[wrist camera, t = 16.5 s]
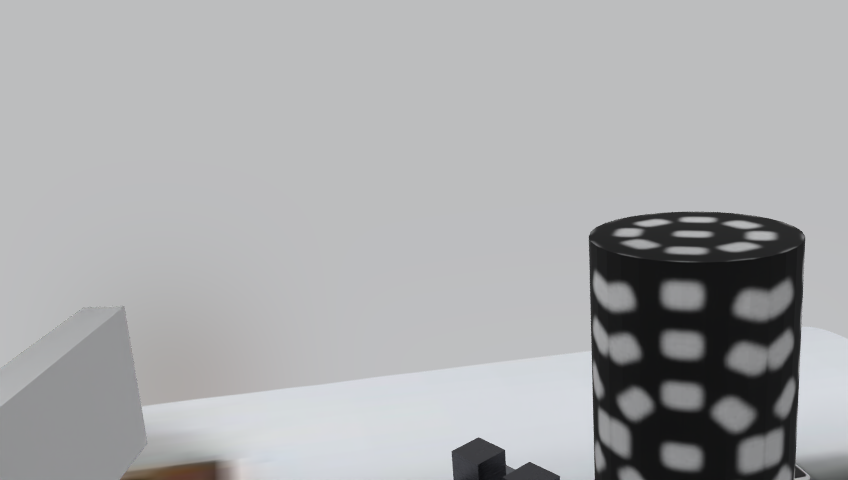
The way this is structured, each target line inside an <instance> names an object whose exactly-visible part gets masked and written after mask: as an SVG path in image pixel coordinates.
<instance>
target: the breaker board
mask: <svg viewBox="0 0 848 480" xmlns="http://www.w3.org/2000/svg"><path fill="white" fill-rule="evenodd" d="M452 462H453V477H454V480H560V476H558V475H556V474H554V473H552V472H550V471H548V470H546V469H544V468H541V467H539V466H537V465H535V464H533V463H531V462H528V463H527V464H525V465H523V466H521V467H520V468H518V469H516V470H515V469H513V468H511V467H509V466H507V465H506V461H505V450H504V449H502V448H500V447H498V446H495V445H493V444H491V443H489V442H487V441H485V440H483V439H481V438H477V439H475V440H473V441H471V442H469V443H467V444H465V445H463V446H461V447H459V448H457V449H455V450H453V451H452Z"/></svg>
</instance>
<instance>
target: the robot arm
mask: <svg viewBox="0 0 848 480" xmlns="http://www.w3.org/2000/svg"><path fill="white" fill-rule="evenodd" d="M146 445H147V437H146V432H145V426H144V420H143V414H142V408H141V402H140V396H139V391H138V385H137V379H136V373H135V367H134V361H133V356H132V350H131V343H130V337H129V332H128V326H127V320H126V314H125V308H124V306H116V307H88V308H82V309H81V310H79V311H78V312H77V313H75V314H74V315H73V316H71V317H70V318H68V319H67V320H66V321H64V322H63V323H62V324H60V325H59V326H57V327H56V328H55V329H53V330H52V331H51V332H49V333H48V334H47V335H45V336H44V337H42V338H41V339H40V340H38V341H37V342H36V343H35V344H33V345H32V346H30V347H29V348H28V349H26V350H25V351H23V352H22V353H21V354H19V355H18V356H17V357H15V358H14V359H12V360H11V361H10V362H8V363H7V364H6V365H4V366H3V367H1V368H0V480H120V478H121V477H122V476H123V474H124V473H125V472H126V471H127V469H128V468H129V467H130V465H131V464H132V463H133V462H134V460H135V459H136V458H137V456H138V455H139V454H140V452H141V451H142V450H143V449H144V447H145V446H146Z"/></svg>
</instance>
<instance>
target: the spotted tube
mask: <svg viewBox="0 0 848 480" xmlns="http://www.w3.org/2000/svg"><path fill="white" fill-rule="evenodd" d="M804 252H805V236H804V234H803V232H802V231H800V230H799V229H797V228H796V227H794V226H791V225H789V224H786V223H784V222H780V221H776V220H773V219H768V218H763V217H757V216H751V215H743V214H733V213H720V212H671V213H657V214H646V215H639V216H633V217H627V218H623V219H618V220H614V221H611V222H608V223H605V224H603V225H600V226H598V227H596V228H595V229H594V230H593V231H591V233H590V235H589V256H590V297H591V336H592V379H593V419H594V460H595V480H795V459H796V436H797V413H798V390H799V367H800V344H801V320H802V298H803V274H804Z"/></svg>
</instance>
